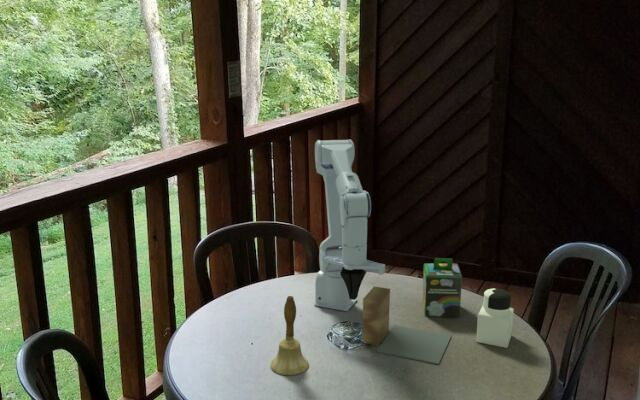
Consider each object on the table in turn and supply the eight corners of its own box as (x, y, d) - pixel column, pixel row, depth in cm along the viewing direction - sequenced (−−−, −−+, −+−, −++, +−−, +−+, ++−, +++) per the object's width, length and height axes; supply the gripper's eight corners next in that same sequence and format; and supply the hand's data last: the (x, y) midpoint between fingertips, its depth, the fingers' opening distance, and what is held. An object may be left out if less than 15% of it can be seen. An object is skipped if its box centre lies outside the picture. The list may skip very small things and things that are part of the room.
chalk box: (456, 303, 159) (459, 251, 155) (460, 318, 150) (464, 263, 146) (421, 302, 159) (423, 250, 156) (423, 316, 151) (426, 262, 147)
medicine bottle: (511, 335, 141) (515, 288, 138) (507, 348, 134) (511, 300, 131) (481, 329, 144) (484, 283, 141) (475, 342, 137) (479, 294, 134)
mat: (376, 352, 133) (376, 350, 133) (394, 326, 145) (394, 325, 145) (438, 364, 127) (438, 363, 127) (451, 336, 140) (451, 335, 140)
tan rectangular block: (362, 342, 137) (362, 298, 135) (372, 328, 144) (373, 286, 142) (378, 345, 136) (379, 301, 133) (388, 331, 143) (390, 288, 140)
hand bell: (301, 353, 132) (301, 287, 128) (314, 371, 125) (314, 301, 121) (266, 359, 129) (264, 292, 126) (276, 378, 122) (275, 307, 118)
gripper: (318, 244, 136) (318, 299, 139) (379, 252, 130) (377, 309, 134) (330, 236, 142) (330, 288, 145) (388, 243, 137) (386, 297, 140)
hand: (353, 297), depth 140 cm, fingers closed
